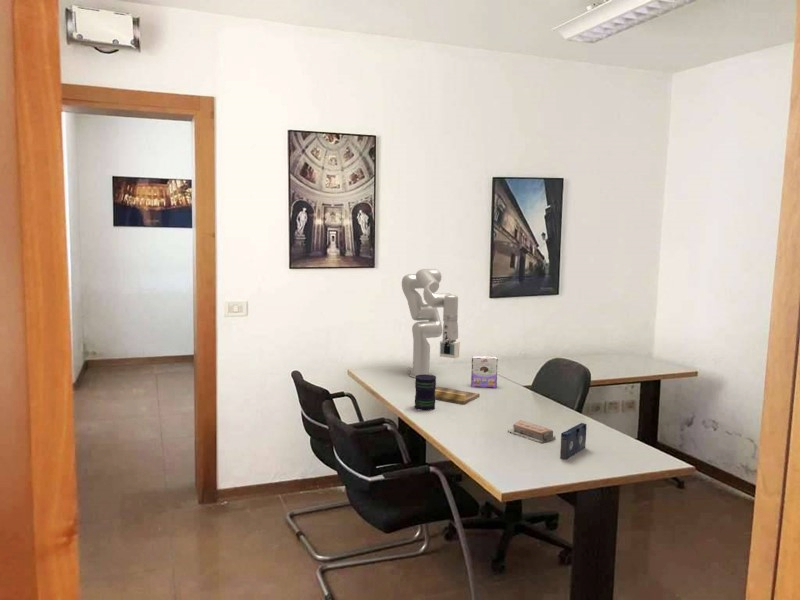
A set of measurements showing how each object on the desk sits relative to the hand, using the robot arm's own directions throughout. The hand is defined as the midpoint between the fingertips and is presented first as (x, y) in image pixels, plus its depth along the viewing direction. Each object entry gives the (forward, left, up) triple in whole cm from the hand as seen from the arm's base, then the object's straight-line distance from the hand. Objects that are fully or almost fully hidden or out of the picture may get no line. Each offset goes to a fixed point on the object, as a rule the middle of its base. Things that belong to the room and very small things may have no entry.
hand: (449, 352), depth 342 cm
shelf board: (+8, -13, -20) cm, 25 cm away
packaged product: (+63, -48, -21) cm, 82 cm away
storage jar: (+7, -38, -20) cm, 43 cm away
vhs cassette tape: (+84, -59, -20) cm, 104 cm away
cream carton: (0, 0, -2) cm, 2 cm away
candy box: (+13, +17, -20) cm, 29 cm away
